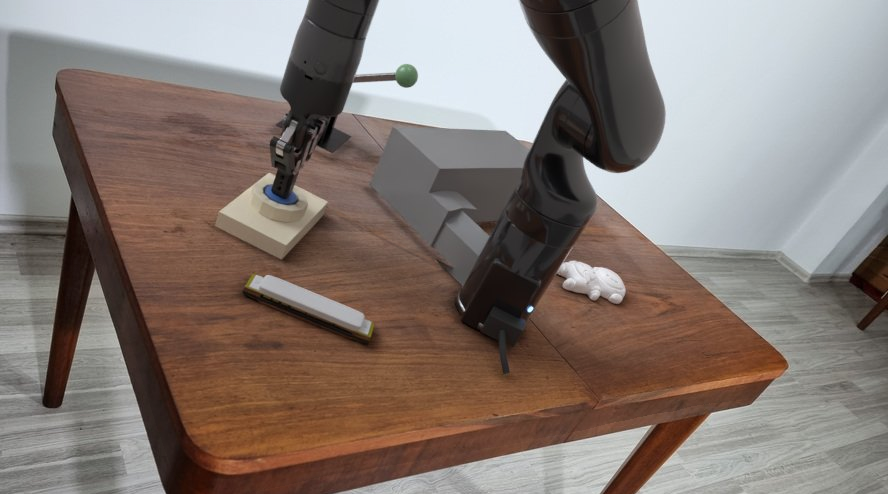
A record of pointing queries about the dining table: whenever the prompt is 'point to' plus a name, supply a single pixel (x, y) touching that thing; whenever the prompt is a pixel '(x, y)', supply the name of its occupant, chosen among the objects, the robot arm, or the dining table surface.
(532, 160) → the robot arm
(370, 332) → the harmonica
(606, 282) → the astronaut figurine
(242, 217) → the switch box
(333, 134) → the lever bracket
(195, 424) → the dining table surface
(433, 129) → the gray stepped block
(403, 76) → the green lever
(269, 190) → the blue button
